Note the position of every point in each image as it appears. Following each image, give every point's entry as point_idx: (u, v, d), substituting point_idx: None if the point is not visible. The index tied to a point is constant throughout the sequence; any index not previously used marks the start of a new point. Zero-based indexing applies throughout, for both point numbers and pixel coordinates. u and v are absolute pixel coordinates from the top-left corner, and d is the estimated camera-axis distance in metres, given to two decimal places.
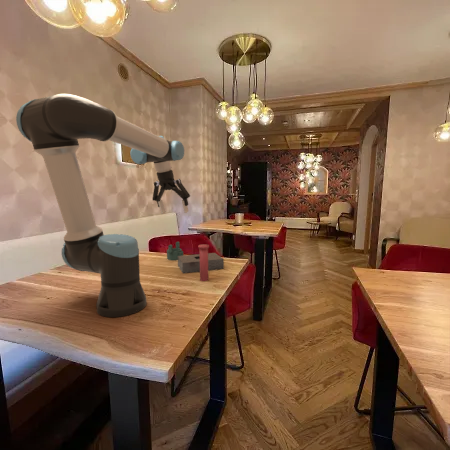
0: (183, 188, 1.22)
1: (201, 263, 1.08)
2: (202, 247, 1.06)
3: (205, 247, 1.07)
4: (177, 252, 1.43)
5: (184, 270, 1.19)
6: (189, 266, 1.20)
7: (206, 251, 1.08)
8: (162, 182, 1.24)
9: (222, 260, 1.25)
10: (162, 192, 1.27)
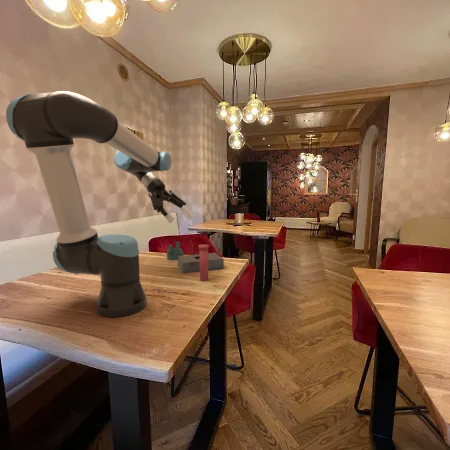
0: None
1: (201, 263, 1.08)
2: (202, 247, 1.06)
3: (205, 247, 1.07)
4: (177, 252, 1.43)
5: (184, 270, 1.19)
6: (189, 266, 1.20)
7: (206, 251, 1.08)
8: (159, 191, 1.13)
9: (222, 260, 1.25)
10: None
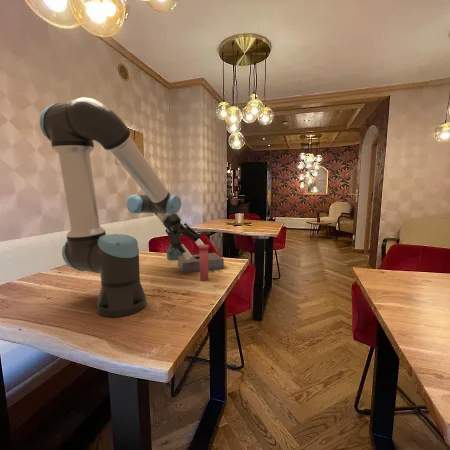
0: None
1: (201, 263, 1.08)
2: (202, 247, 1.06)
3: (205, 247, 1.07)
4: (177, 252, 1.43)
5: (184, 270, 1.19)
6: (189, 266, 1.20)
7: (206, 251, 1.08)
8: (175, 226, 1.13)
9: (222, 260, 1.25)
10: None
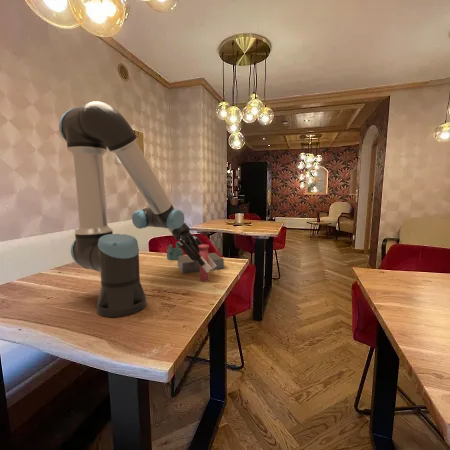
0: None
1: None
2: (202, 247, 1.06)
3: (205, 247, 1.07)
4: (177, 252, 1.43)
5: (184, 270, 1.19)
6: (189, 266, 1.20)
7: (206, 251, 1.08)
8: (183, 235, 1.10)
9: (222, 260, 1.25)
10: None
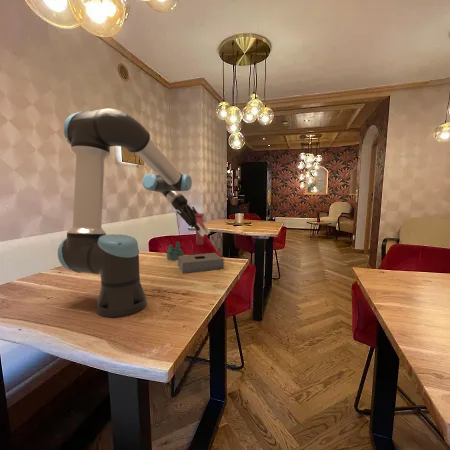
0: None
1: None
2: (198, 215, 1.24)
3: (200, 215, 1.24)
4: (177, 252, 1.43)
5: (184, 270, 1.19)
6: (189, 266, 1.20)
7: (201, 218, 1.25)
8: (181, 205, 1.27)
9: (222, 260, 1.25)
10: None
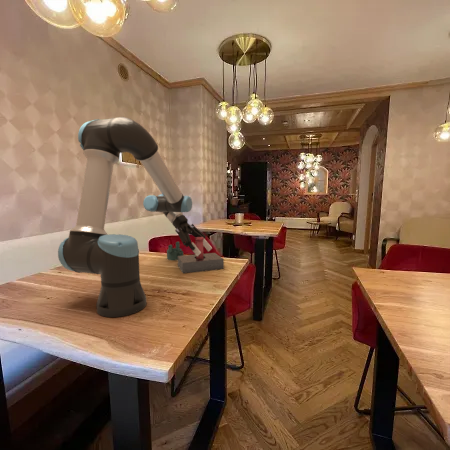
0: None
1: None
2: (198, 239, 1.25)
3: (200, 239, 1.25)
4: (177, 252, 1.43)
5: (184, 270, 1.19)
6: (189, 266, 1.20)
7: (201, 242, 1.26)
8: (182, 225, 1.28)
9: (222, 260, 1.25)
10: None
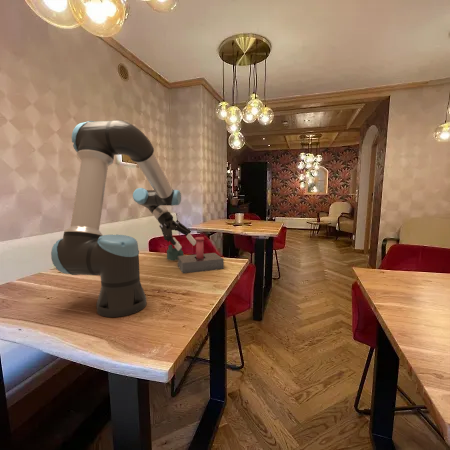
0: None
1: (197, 253, 1.27)
2: (198, 239, 1.25)
3: (201, 239, 1.25)
4: (177, 252, 1.43)
5: (184, 270, 1.19)
6: (189, 266, 1.20)
7: (202, 242, 1.26)
8: (168, 222, 1.32)
9: (222, 260, 1.25)
10: None
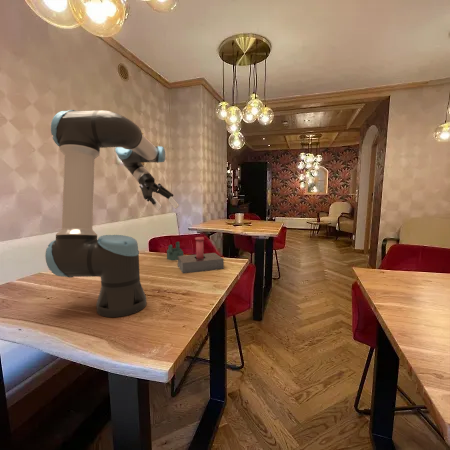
0: None
1: (197, 253, 1.27)
2: (198, 239, 1.25)
3: (201, 239, 1.25)
4: (177, 252, 1.43)
5: (184, 270, 1.19)
6: (189, 266, 1.20)
7: (202, 242, 1.26)
8: (148, 183, 1.29)
9: (222, 260, 1.25)
10: None
